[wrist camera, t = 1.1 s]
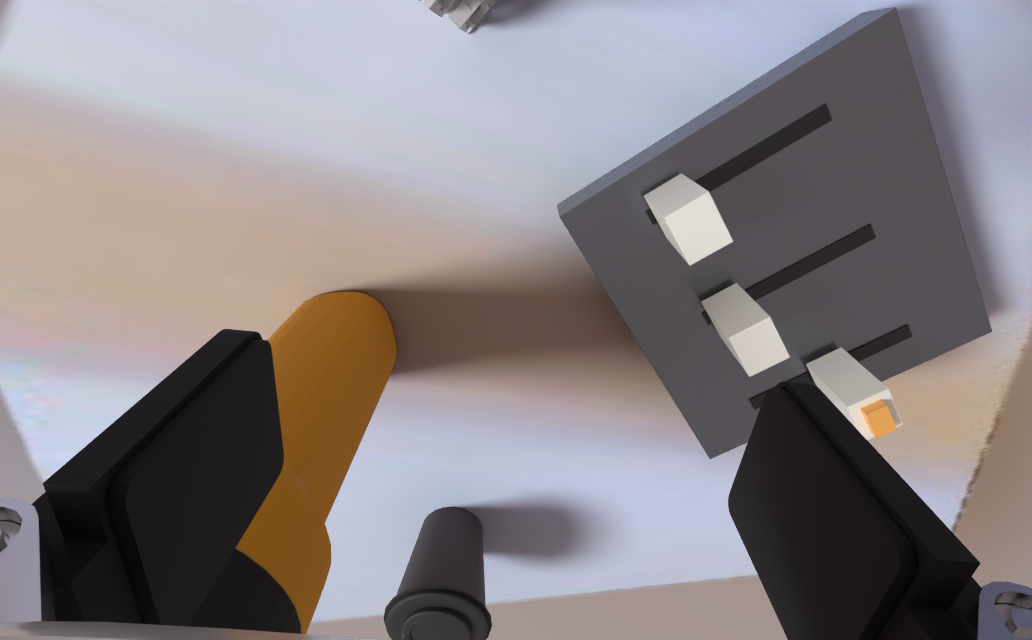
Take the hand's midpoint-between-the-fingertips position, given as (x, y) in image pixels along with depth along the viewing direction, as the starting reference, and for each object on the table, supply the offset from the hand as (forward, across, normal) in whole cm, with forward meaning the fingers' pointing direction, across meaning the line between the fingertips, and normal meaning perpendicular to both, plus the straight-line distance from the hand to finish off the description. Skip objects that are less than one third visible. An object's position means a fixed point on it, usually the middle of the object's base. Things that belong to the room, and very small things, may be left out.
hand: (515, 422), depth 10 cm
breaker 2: (+23, -14, +7) cm, 28 cm away
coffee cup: (+26, +3, +32) cm, 41 cm away
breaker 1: (+23, -9, 0) cm, 24 cm away
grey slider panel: (+26, -17, +4) cm, 32 cm away
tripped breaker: (+23, -22, +10) cm, 33 cm away
